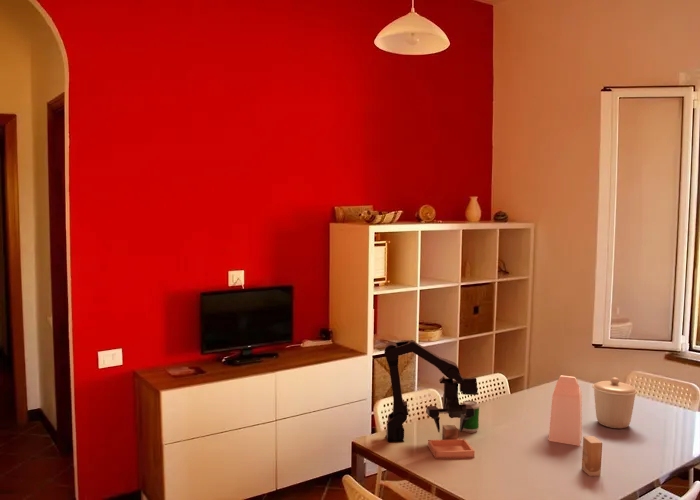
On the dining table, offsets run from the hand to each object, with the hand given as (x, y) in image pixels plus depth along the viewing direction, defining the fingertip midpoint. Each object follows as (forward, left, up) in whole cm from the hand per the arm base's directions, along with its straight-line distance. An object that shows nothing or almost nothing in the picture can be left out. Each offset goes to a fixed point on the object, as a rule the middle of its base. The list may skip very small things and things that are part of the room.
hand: (449, 431), depth 241 cm
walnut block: (0, 0, -4) cm, 4 cm away
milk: (+49, 0, -4) cm, 49 cm away
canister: (+78, +14, -4) cm, 79 cm away
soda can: (+12, +12, -4) cm, 18 cm away
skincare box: (+43, -32, -4) cm, 54 cm away
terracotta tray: (-2, -10, -4) cm, 11 cm away
